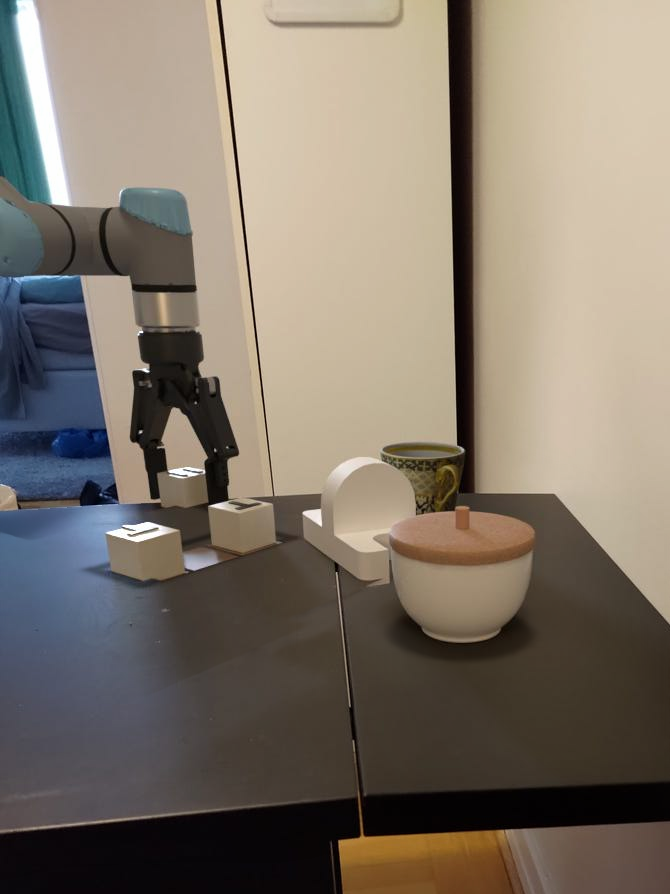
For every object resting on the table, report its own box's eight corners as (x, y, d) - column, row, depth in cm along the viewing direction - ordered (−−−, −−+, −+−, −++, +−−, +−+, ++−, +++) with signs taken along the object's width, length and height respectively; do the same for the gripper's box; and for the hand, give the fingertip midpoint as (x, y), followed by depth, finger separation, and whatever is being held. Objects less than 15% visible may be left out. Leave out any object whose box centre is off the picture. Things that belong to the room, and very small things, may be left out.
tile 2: (211, 545, 98) (207, 504, 97) (245, 535, 102) (242, 496, 100) (242, 553, 96) (238, 511, 94) (276, 542, 100) (273, 502, 98)
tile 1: (109, 575, 88) (102, 531, 87) (151, 563, 92) (145, 520, 90) (143, 586, 86) (137, 540, 84) (185, 572, 90) (179, 528, 88)
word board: (92, 581, 89) (91, 575, 88) (243, 536, 104) (243, 531, 104) (143, 598, 85) (142, 591, 84) (292, 548, 100) (292, 542, 100)
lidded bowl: (482, 668, 71) (484, 536, 67) (362, 633, 77) (357, 511, 73) (556, 621, 81) (562, 503, 77) (444, 593, 87) (444, 483, 83)
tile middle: (161, 506, 116) (156, 472, 114) (191, 499, 120) (187, 465, 118) (186, 512, 113) (181, 477, 112) (216, 505, 117) (213, 470, 115)
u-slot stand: (362, 587, 88) (358, 481, 84) (301, 541, 103) (295, 448, 98) (446, 573, 93) (446, 472, 89) (376, 531, 107) (374, 441, 103)
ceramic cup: (368, 527, 109) (365, 446, 105) (438, 516, 114) (438, 438, 110) (419, 555, 99) (419, 466, 95) (493, 542, 104) (495, 457, 100)
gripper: (259, 333, 105) (273, 512, 114) (135, 323, 117) (156, 486, 125) (209, 336, 99) (228, 524, 108) (84, 325, 111) (110, 496, 120)
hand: (189, 504), depth 117 cm, fingers open, 11 cm apart
